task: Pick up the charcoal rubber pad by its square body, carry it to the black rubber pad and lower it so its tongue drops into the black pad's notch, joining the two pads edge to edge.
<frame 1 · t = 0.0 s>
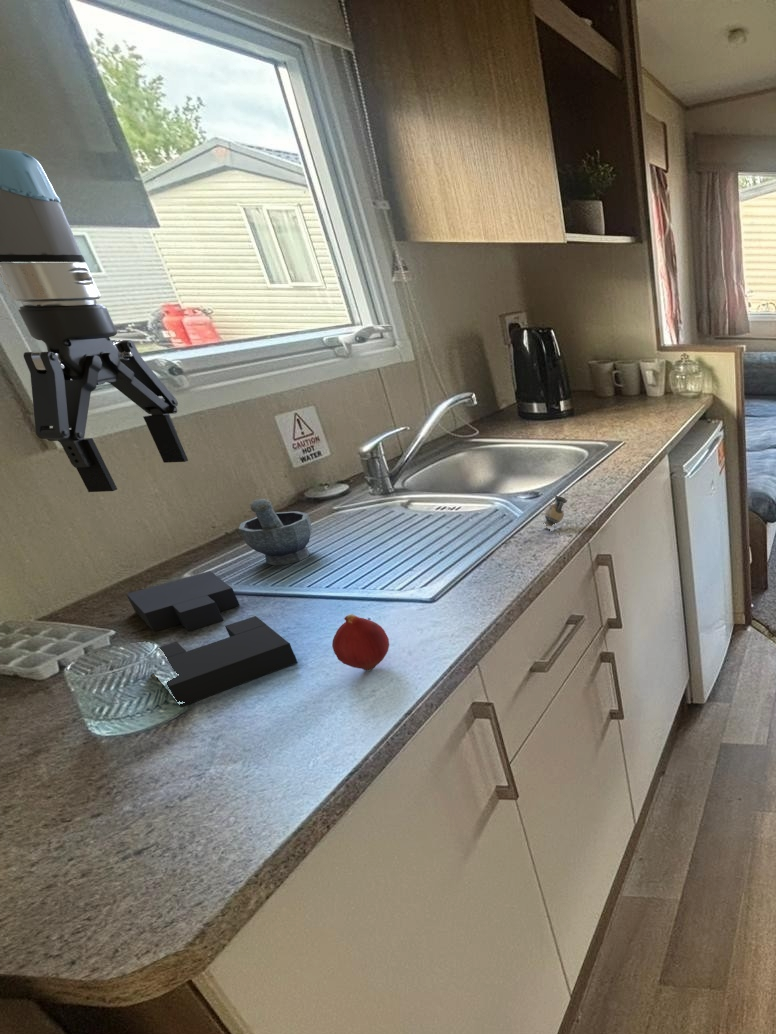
hand: (142, 475, 89), 20 cm above the countertop, tool pointing down, fingers open, 13 cm apart
notch pad: (225, 667, 84), on the countertop
onion: (370, 670, 84), on the countertop
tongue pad: (188, 608, 98), on the countertop
mortar and pestle: (288, 560, 114), on the countertop
vase: (558, 528, 129), on the countertop
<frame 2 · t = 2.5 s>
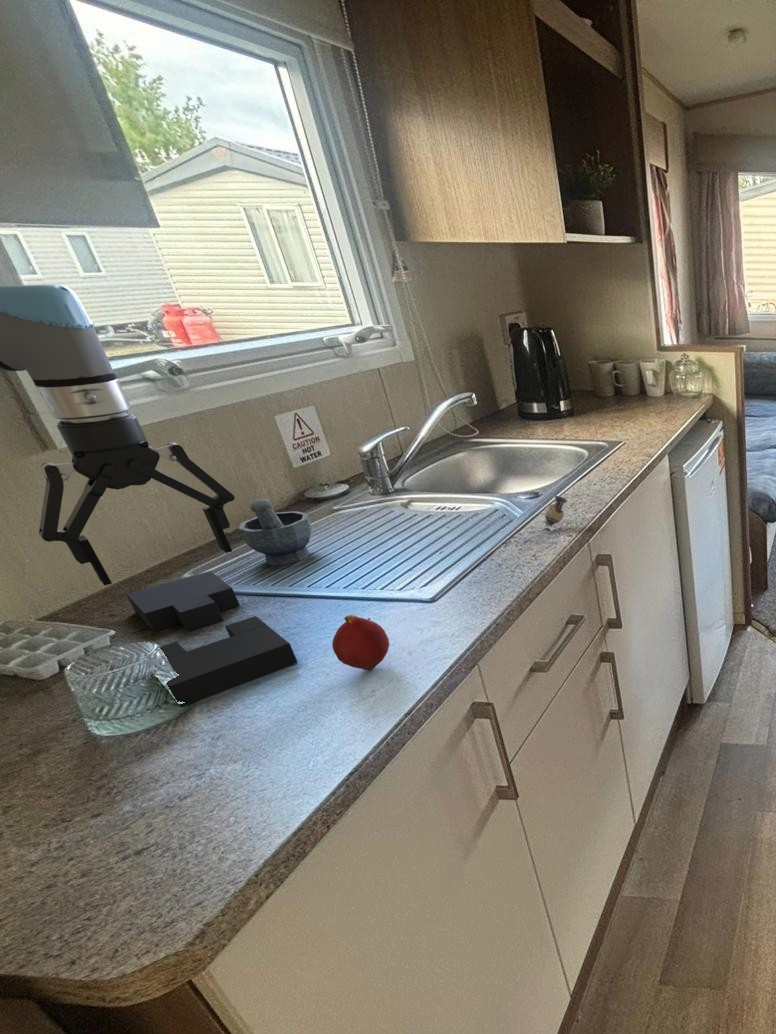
hand: (169, 565, 95), 7 cm above the countertop, tool pointing down, fingers open, 13 cm apart
nothing on the countertop moved.
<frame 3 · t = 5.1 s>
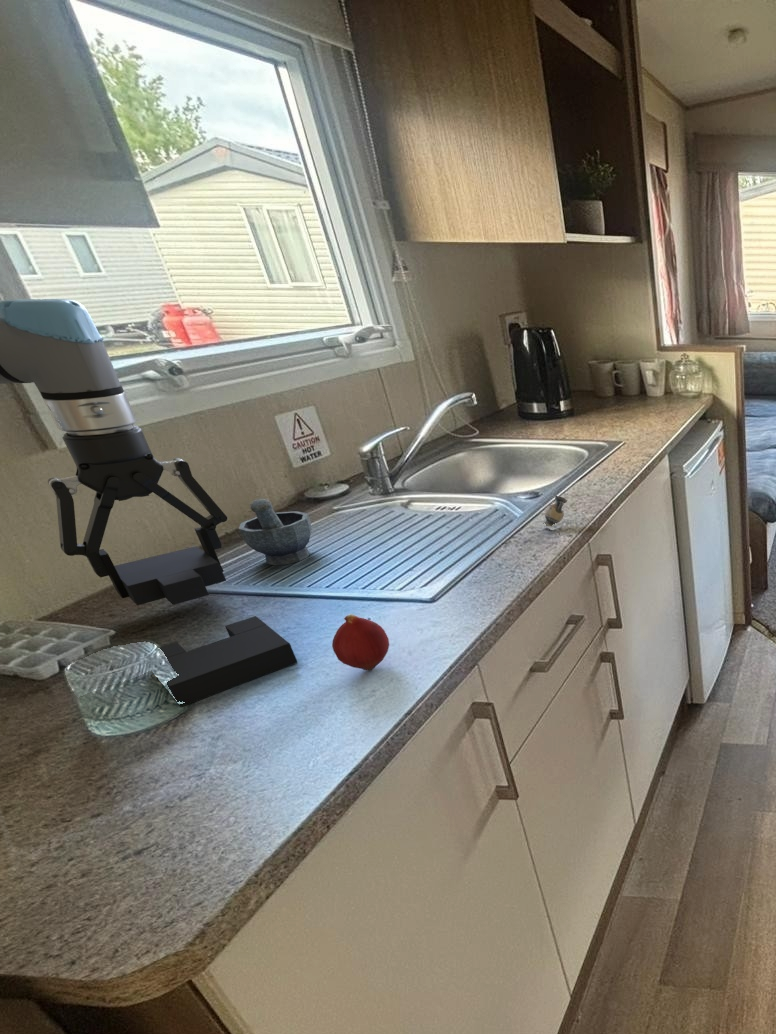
hand: (172, 581, 96), 4 cm above the countertop, tool pointing down, fingers closed on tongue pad, 10 cm apart
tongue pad: (173, 583, 96), point 4 cm above the countertop, touching gripper
everything else where it was.
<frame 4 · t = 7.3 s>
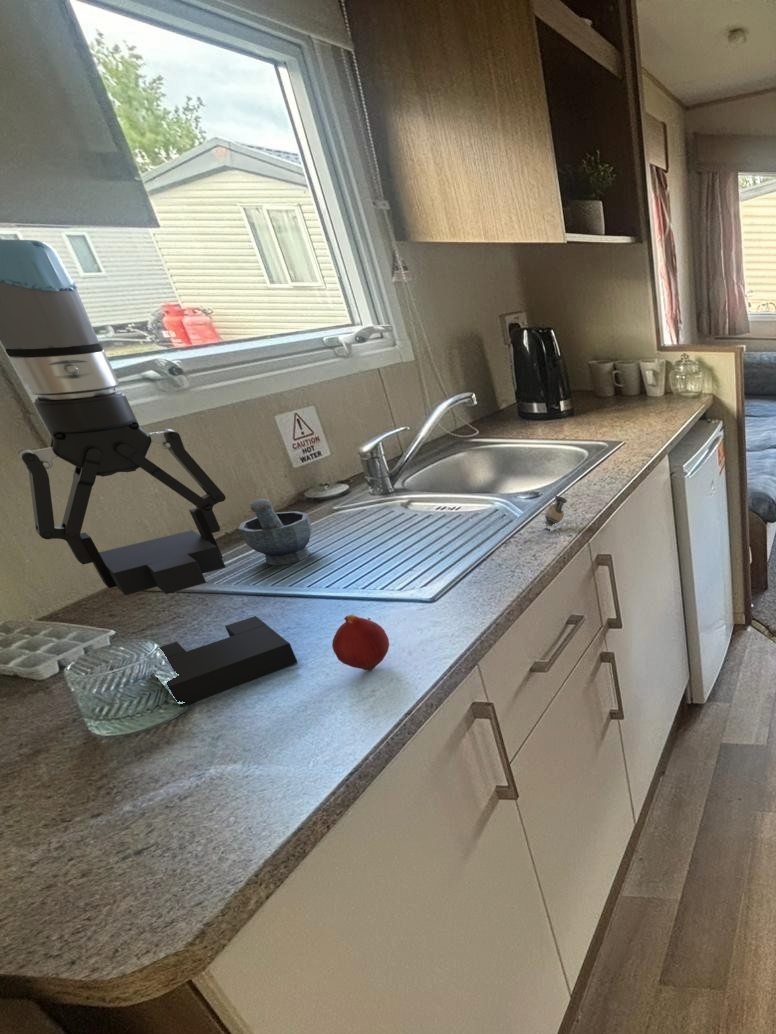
hand: (165, 569, 85), 11 cm above the countertop, tool pointing down, fingers closed on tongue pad, 10 cm apart
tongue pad: (166, 571, 85), point 10 cm above the countertop, touching gripper
everything else where it was.
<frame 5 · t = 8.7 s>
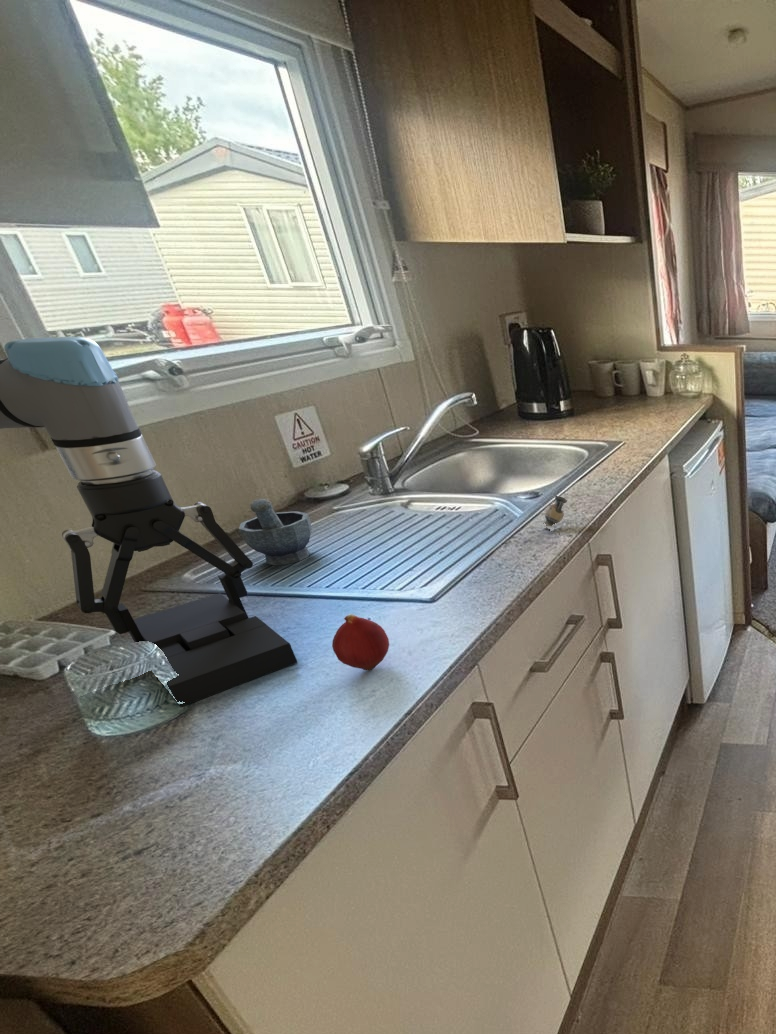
hand: (196, 634, 89), 1 cm above the countertop, tool pointing down, fingers closed on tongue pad, 10 cm apart
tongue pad: (196, 635, 89), point 1 cm above the countertop, touching gripper
everything else where it was.
when the fingers open (0 cm above the countertop, at t = 9.5 s): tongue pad stays where it is, on the countertop.
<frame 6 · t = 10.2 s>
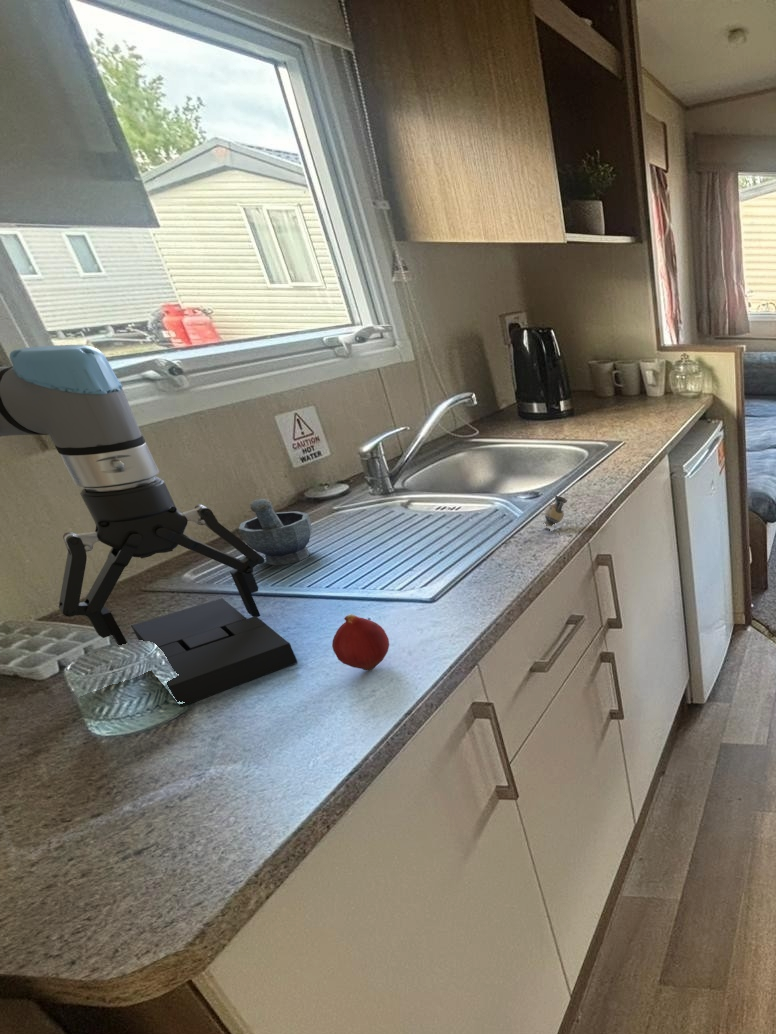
hand: (194, 633, 89), 1 cm above the countertop, tool pointing down, fingers open, 13 cm apart
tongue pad: (198, 640, 90), on the countertop
everything else where it was.
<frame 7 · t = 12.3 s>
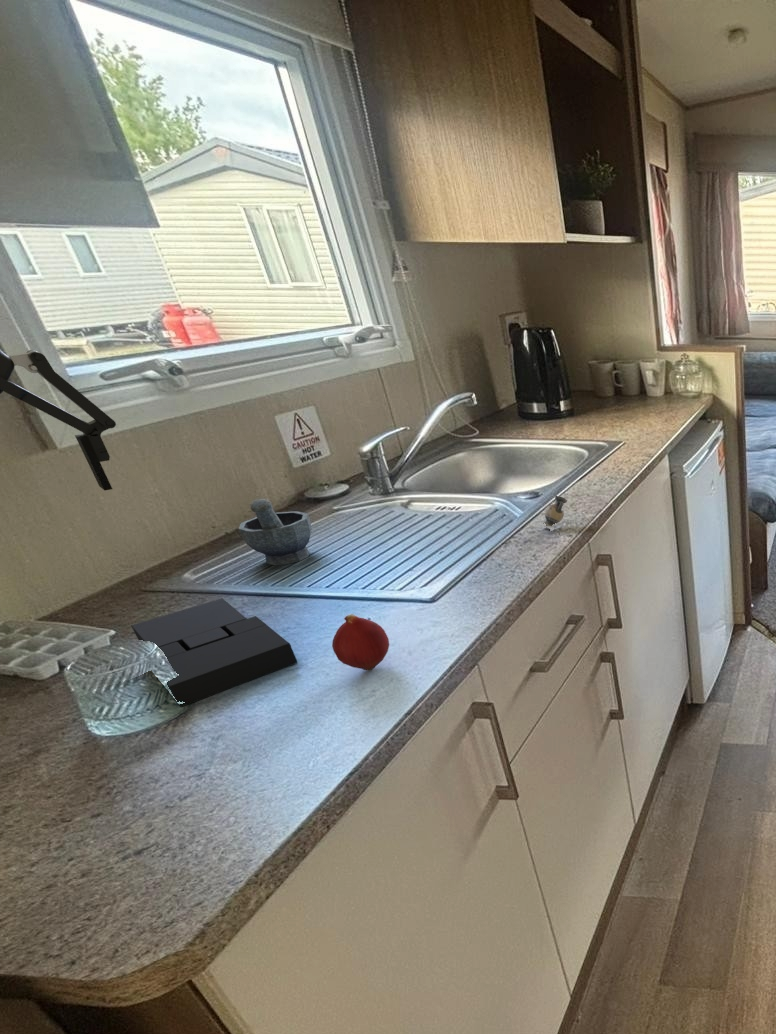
hand: (29, 501, 78), 21 cm above the countertop, tool pointing down, fingers open, 13 cm apart
nothing on the countertop moved.
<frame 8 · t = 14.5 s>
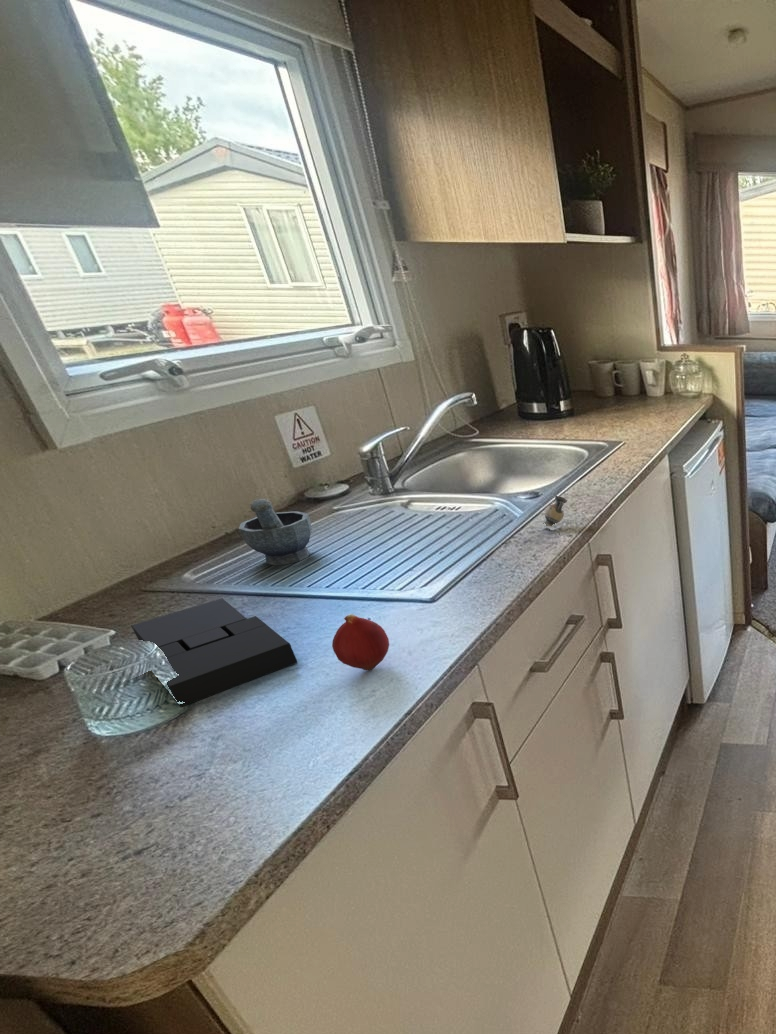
nothing on the countertop moved.
at the end: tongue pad 0.1 cm from the target spot on the countertop beside the notch pad, on the countertop; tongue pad tilted 0°; the gripper is holding nothing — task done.
